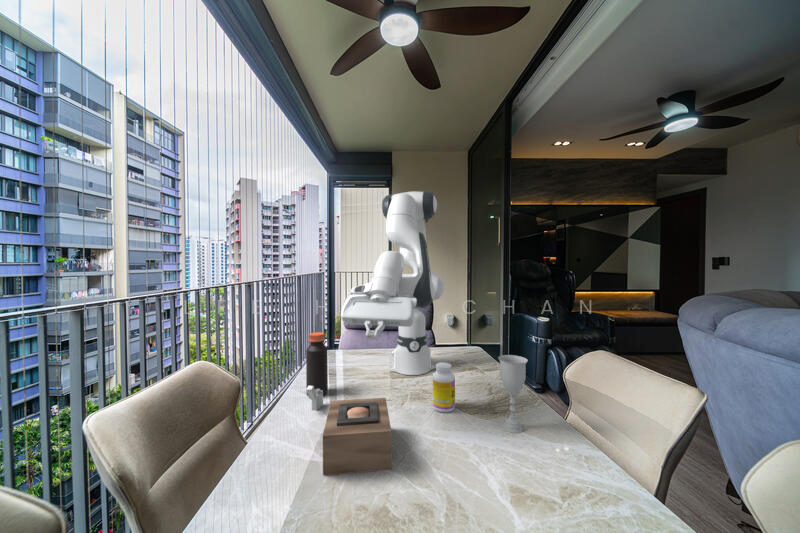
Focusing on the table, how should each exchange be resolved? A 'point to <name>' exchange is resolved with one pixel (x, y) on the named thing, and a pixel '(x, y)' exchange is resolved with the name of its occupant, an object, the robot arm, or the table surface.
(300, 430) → the table surface
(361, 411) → the peg
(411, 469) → the table surface
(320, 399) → the lighter
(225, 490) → the table surface
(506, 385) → the chalice
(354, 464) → the block
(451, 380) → the supplement bottle
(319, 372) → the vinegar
